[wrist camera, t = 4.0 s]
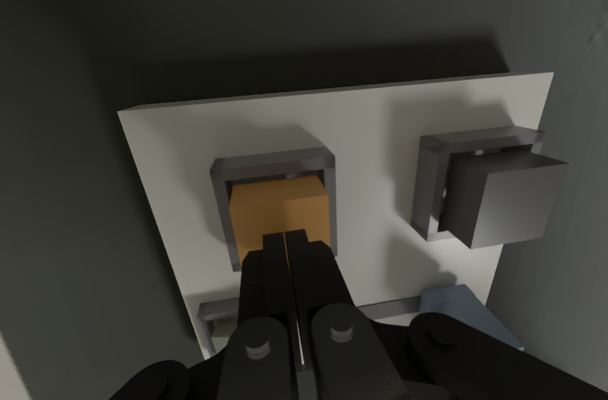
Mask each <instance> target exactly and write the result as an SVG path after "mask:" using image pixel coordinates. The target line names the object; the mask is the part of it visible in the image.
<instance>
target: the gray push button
mask: <svg viewBox="0 0 608 400" xmlns="http://www.w3.org/2000/svg"><path fill="white" fill-rule="evenodd" d="M568 165H569V163H566V162H563V161H559V160H556V159H553V158H549V157H546V156H542V155H539V154H535V153H532V152H529V151H525V150H515V151H506V152H498V153H490V154H482V155H474V156H466V157H458V158H452V162H451V168H450V174H449V180H448V186H447V192H446V197H445V203H444V209H443V215H442V221H441V225H442V226H443V227H444V228H445V229H446V230H448V231H449V232H450V233H451V234H452V235H454V236H455V237H456V238H457V239H458V240H460V241H461V242H462V243H463V244H464V245H466V246H467V247H468V248H469V249H476V248H482V247H489V246H495V245H501V244H507V243H513V242H519V241H525V240H531V239H538V238H542V236H543V234H544V231H545V228H546V225H547V223H548V220H549V217H550V214H551V212H552V209H553V206H554V203H555V201H556V198H557V195H558V192H559V190H560V187H561V184H562V182H563V179H564V176H565V173H566V171H567V168H568Z"/></svg>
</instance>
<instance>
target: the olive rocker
mask: <svg viewBox="0 0 608 400" xmlns="http://www.w3.org/2000/svg"><path fill="white" fill-rule="evenodd" d="M237 321H238V319H219V320H218V322H217V325H216V327H215V329H214V332H213V334H212V337H211V338H212V341H213V344H214V348H215V351H216V354H217V353H218V352H220V351H221V350H222V349H223V348H224V347H225V346H226V345H227V343H228V340H229V338H230V336H231V334H232V333H233V331H234V330H235V329H236V328H237Z"/></svg>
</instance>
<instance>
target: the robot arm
mask: <svg viewBox="0 0 608 400" xmlns="http://www.w3.org/2000/svg"><path fill="white" fill-rule="evenodd" d="M262 238H263V249H260V250H254V251H249V252H248V253H247V255H246V256H245V258H244V259H243V261H242V268H241V281H240V283H241V285H240V295H239V308H238V321H237V328H236V329H235V330H234V331H233V333H232V334H231V336H230V338H229V340H228V343H227V345H226V346H225V347H224V348H223V349H222V350H221V351H220V352H218V353H217V354H216V355H214V356H212V357H210V358H209V359H206V360H204V361H202V362H200V363H198V364H196V365H194V366H192V367H190V368H188V369H187V368H186V367H185V366H184V365H183V364H182V363H180V362H178V361H174V360H165V361H160V362H156V363H154V364H152V365H149V366H148V367H146V368H144V369H143V370H141V371H140V372H138V373H137V374H136V375H135V376H133V377H132V378H131V379H130V380H129V381H128V382H127V383H126V384H125V385H124V386H123V387H122V388H121V389H120V390H118V391H117V392H116V393H115V394H114V395H113V396H112V397H111V398H110V399H109V400H298V399H299V392H298V385H297V377H296V373H298V372H303V368H302V360H301V351H300V342H301V348H302V354H303V360H304V366H305V371H307V370H312V369H313V372H314V377H315V382H316V389H317V399H318V400H608V393H607V392H605V391H603V390H601V389H599V388H597V387H595V386H593V385H591V384H589V383H587V382H584V381H582V380H580V379H578V378H576V377H574V376H572V375H570V374H568V373H566V372H564V371H562V370H560V369H558V368H556V367H554V366H552V365H550V364H548V363H545V362H543V361H541V360H539V359H537V358H535V357H533V356H531V355H529V354H527V353H525V352H523V351H521V350H519V349H517V348H515V347H513V346H511V345H509V344H506V343H504V342H502V341H500V340H498V339H496V338H494V337H492V336H490V335H488V334H486V333H484V332H482V331H480V330H478V329H476V328H474V327H472V326H469V325H467V324H465V323H463V322H461V321H459V320H457V319H455V318H453V317H451V316H448V315H446V314H442V313H437V312H425V313H421V314H419V315H417V316H415V317H414V318H413V319H412V320H411V322H410V324H409V326H401V325H392V324H384V323H380V322H376V321H374V320H372V319H370V318H368V317H367V316H366V315H365V314H364V313H363V312H362V311H361V310H360V309H358V308H357V307H356V306H355V304H354V302H353V300H352V297H351V295H350V292H349V290H348V288H347V285H346V283H345V281H344V278H343V276H342V273H341V271H340V269H339V266H338V264H337V262H336V260H335V257H334V255H333V252H332V250H331V248H330V247H329V246H328V245H327V244H325V243H324V242H323V241H322V240H319V241H313V242H309V241H308V237H307V234H306V231H305V229H298V230H291V231H285V241H286V248H285V242H284V236H283V232H278V233H271V234H264V235H262ZM286 249H287V254H286ZM287 257H288V260H287ZM297 323H298V325H297ZM298 329H299V334H298ZM299 336H300V342H299Z"/></svg>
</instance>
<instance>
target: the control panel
mask: <svg viewBox="0 0 608 400" xmlns="http://www.w3.org/2000/svg"><path fill="white" fill-rule="evenodd" d="M553 74H554V72H508V73H497V74H486V75H474V76H463V77H452V78H440V79H429V80H418V81H406V82H395V83H384V84H372V85H361V86H350V87H338V88H327V89H316V90H304V91H293V92H282V93H270V94H259V95H248V96H236V97H225V98H214V99H203V100H191V101H180V102H169V103H157V104H146V105H139V106H135V107H132V108H128V109H124V110H121V111H117V113H118V116H119V118H120V121H121V124H122V127H123V130H124V133H125V135H126V138H127V141H128V144H129V147H130V149H131V152H132V155H133V158H134V161H135V164H136V166H137V169H138V172H139V175H140V178H141V181H142V183H143V186H144V189H145V192H146V195H147V197H148V200H149V203H150V206H151V209H152V212H153V214H154V217H155V220H156V223H157V226H158V229H159V231H160V234H161V237H162V240H163V243H164V245H165V248H166V251H167V254H168V257H169V260H170V262H171V265H172V268H173V271H174V274H175V277H176V279H177V282H178V285H179V288H180V291H181V293H182V296H183V299H184V302H185V305H186V308H187V310H188V313H189V316H190V319H191V322H192V325H193V327H194V330H195V333H196V336H197V339H198V342H199V344H200V347H201V350H202V353H203V356H204V358H205V360H206V359H209V358H210V357H212V356H214V355H216V351H215V348H214V344H213V341H212V338H211V337H212V334H213V332H214V329H215V327H216V325H217V322H218V320H219V319H238V308H239V295H240V285H241V283H240V281H241V263H240V259H239V254H238V249H237V245H236V240H235V235H234V231H233V226H232V222H231V217H230V212H229V204H230V199H231V194H232V190H233V185H238V184H246V183H254V182H262V181H270V180H278V179H287V178H295V177H303V176H311V175H317V176H318V178H319V180H320V181H321V183H322V185H323V186H324V188H325V190H326V192H327V193H328V195H329V223H330V248H331V250H332V252H333V255H334V257H335V260H336V262H337V264H338V266H339V269H340V271H341V273H342V276H343V278H344V281H345V283H346V285H347V288H348V290H349V292H350V295H351V297H352V300H353V302H354V304H355V306H356V307H357V308H358V309H360V310H361V311H362V312H363V313H364V314H365V315H366V316H367V317H368V318H370V319H372V320H374V321H376V322H380V323H384V324H392V325H401V326H409V324H410V322H411V320H412V319H413V318H414V317H415V316H417V315H419V309H420V302H421V296H422V291H427V290H433V289H438V288H444V287H449V286H455V285H461V284H466V285H467V287H468V288H469V289H470V290H471V291H472V292H473V293H474V294H475V296H476V297H477V298H478V299H479V301H480V302H481V303H482V304H483V305H484V306H485V304H486V301H487V298H488V294H489V291H490V288H491V284H492V281H493V277H494V274H495V271H496V267H497V264H498V260H499V257H500V254H501V250H502V247H503V244H501V245H495V246H489V247H482V248H476V249H469V248H468V247H467V246H466V245H464V244H463V243H462V242H461V241H460V240H458V239H457V238H456V237H455V236H454V235H452V234H451V233H450V232H449V231H448V230H446V229H445V228H444V227H443V226H442V225H441V221H442V215H443V209H444V203H445V197H446V192H447V186H448V180H449V174H450V168H451V162H452V158H458V157H466V156H474V155H482V154H490V153H498V152H506V151H515V150H525V151H529V152H532V153H535V154H539V153H540V150H541V147H542V143H543V140H544V137H545V134H546V132H545V131H540V130H537V128H538V125H539V121H540V118H541V115H542V111H543V108H544V104H545V101H546V98H547V94H548V91H549V87H550V84H551V81H552V77H553ZM297 325H298V323H297ZM298 334H299V329H298ZM299 342H300V336H299ZM300 351H301V360H302V364H304V360H303V354H302V348H301V342H300Z"/></svg>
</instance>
